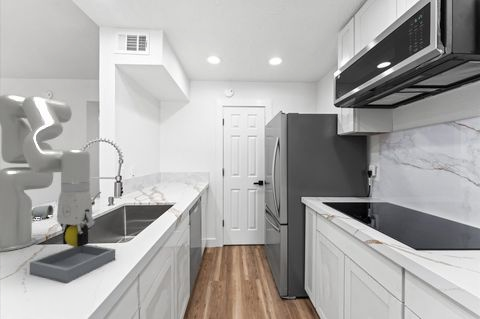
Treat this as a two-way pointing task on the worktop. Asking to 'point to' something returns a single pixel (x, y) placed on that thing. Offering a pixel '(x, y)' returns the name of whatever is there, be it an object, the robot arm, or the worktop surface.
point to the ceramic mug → (42, 211)
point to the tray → (72, 262)
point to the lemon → (72, 235)
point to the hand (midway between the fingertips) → (75, 243)
